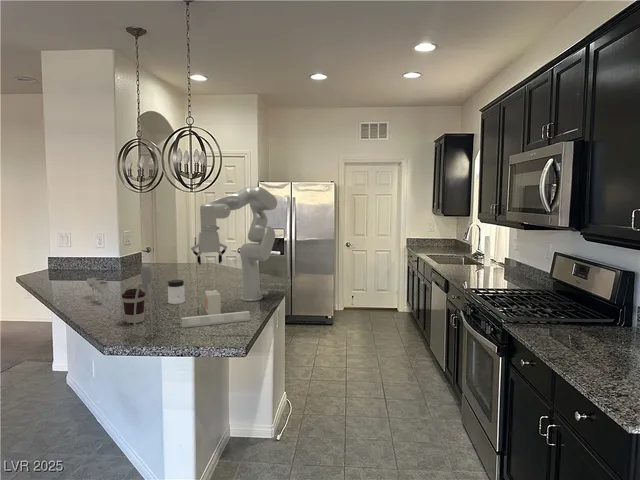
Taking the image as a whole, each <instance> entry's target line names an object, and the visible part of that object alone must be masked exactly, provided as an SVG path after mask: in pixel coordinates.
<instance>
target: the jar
mask: <svg viewBox="0 0 640 480" xmlns="http://www.w3.org/2000/svg"><path fill="white" fill-rule="evenodd" d="M167 285H168V286H167V299H168V300H167V301H168V302H167V303H168V304H171V305H178V304H183V303H184V302H186V297H185V296H186V294H185V284H184V279H172V280H171V279H170V280H168V281H167Z"/></svg>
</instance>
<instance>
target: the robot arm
mask: <svg viewBox="0 0 640 480" xmlns="http://www.w3.org/2000/svg"><path fill="white" fill-rule="evenodd" d="M248 204H249V207H250V210H251V213H252V221H251V223H250V227H249V230H248V233H247V234H248V235H247V238H248V240H249V242H247V243H243V244H242V245H241V247H240V248H239V256H240V260H241V261H240V262H241V269H242V271H241V272H242V273H241V277H242V295H240V297H239V299H240V301H243V302H244V301H245V302H257V301H260V300H263V297H264V296H267V295H269V291H267V290H261V285H260V265H259V263H258V262H265V261H267V260H269V257H270V255H271V252H272V250H273V247H274V243H275V240H276V231H275V230H274V228H273V227H271V226H267V225H268V216H267V214H266V213H265V211H273V210H276V209H277V206H278V201H277V198H276V196H275V195H274V194H273V193H271V192H269V190H267V189H265V188H264V187H262V186H247V187H244V188H242V189H240V190H238V191H237V192H234V193H232V194H229V195H226V196H222V197H220V198H217V199H214V200H211V201H209V202H208V203H206V204H205V203H204V204H201V205H200V208H199V212H200V214H199V215H200V232H198V243H197V244H196V245H193V246H191V247H190V249H191V251H192V253H193V255H195V256H196V257H197V258H196V259H197V260H196V261H197V264H198V265H199V266H200V265H202V264H201V263H202V262H201V261H202V260H201V259H202V258H201V255H202V253H203V254H204V253H205V254H206V253H217V254H218V257H217V258H218V264H222V262H223V255H224V254H225V252H226V251H227V248H228V246H226V245H225V244H223V243H221V242H220V241H221V240H220V236H219V232H218V230H220V226H217V219H221V220H222V219H227V218H228V217H229V216H230V215H231V211H235V210H236V211H237V210H239V209H241V208H243V207H245V206H247V205H248ZM221 247H222V248H223V249H222V250H221ZM197 248H198V252H197V251H196V250H195V249H197ZM257 261H258V262H257ZM263 295H264V296H263Z"/></svg>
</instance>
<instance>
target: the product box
mask: <svg viewBox="0 0 640 480" xmlns="http://www.w3.org/2000/svg"><path fill="white" fill-rule="evenodd" d="M204 298H205V299H204V302H205V303H204V304H205V312H206V315H214V314H222V311H221V307H222V306H221V293H220V292H219V291H218V289H217V290H215V289H214V290H205V291H204Z"/></svg>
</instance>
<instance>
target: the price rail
mask: <svg viewBox="0 0 640 480" xmlns="http://www.w3.org/2000/svg"><path fill="white" fill-rule="evenodd" d="M250 315H251V313H250V311H249V310H248V311H247V310H246V311H244V310H243V311H237V312H236V311H235V312H225V313H221V314H214V315H208V314H206V315H197V316H187V317H186V316H185V317H181V328H182V329H183V328H192V327H203V326H210V325H221V324H228V323H231V324H232V323H239V322H246V321H247V322H248V321H250V320H251V319H250V318H251V316H250Z"/></svg>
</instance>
